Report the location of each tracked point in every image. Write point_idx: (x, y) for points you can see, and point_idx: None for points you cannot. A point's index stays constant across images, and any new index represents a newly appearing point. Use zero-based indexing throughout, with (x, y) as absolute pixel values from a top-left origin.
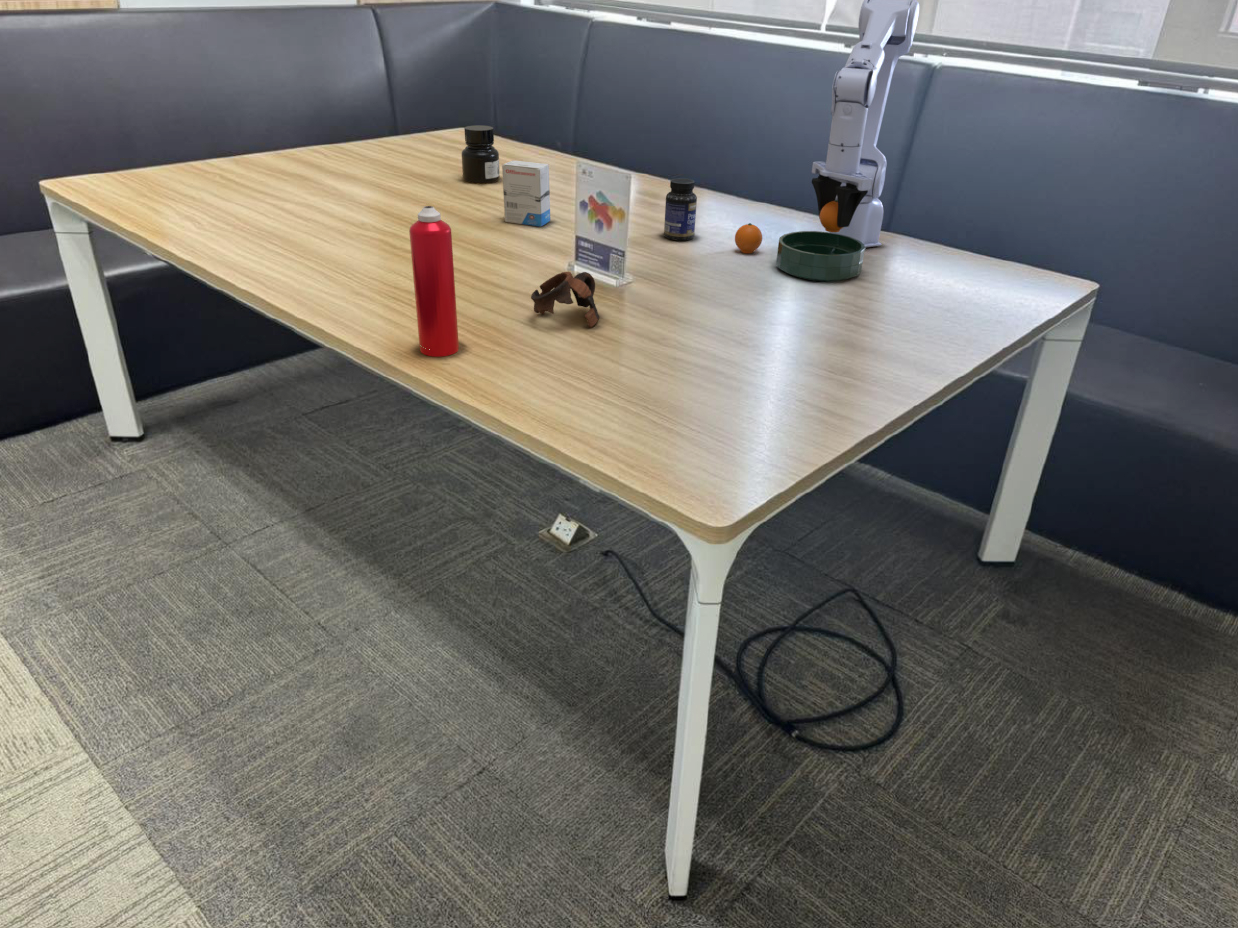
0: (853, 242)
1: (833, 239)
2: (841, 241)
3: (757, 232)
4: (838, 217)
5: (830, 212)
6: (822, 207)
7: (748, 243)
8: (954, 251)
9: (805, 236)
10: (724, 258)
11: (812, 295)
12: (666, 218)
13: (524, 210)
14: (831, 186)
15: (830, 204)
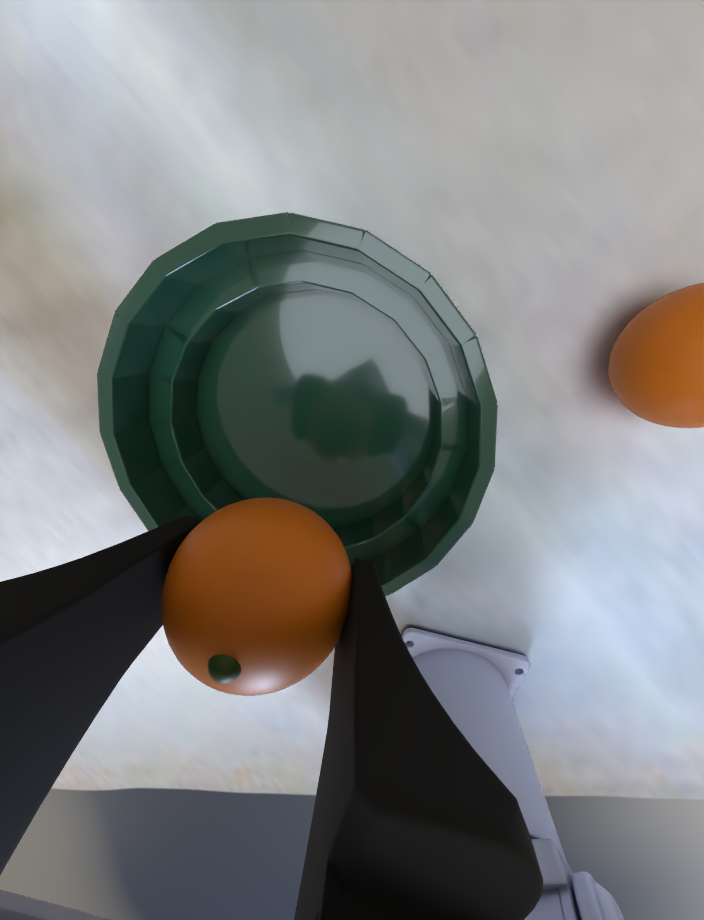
0: None
1: None
2: None
3: (666, 364)
4: (155, 536)
5: (208, 543)
6: (353, 610)
7: (650, 308)
8: (253, 789)
9: (450, 514)
10: (674, 173)
11: (98, 158)
12: None
13: None
14: (321, 833)
15: (230, 606)
